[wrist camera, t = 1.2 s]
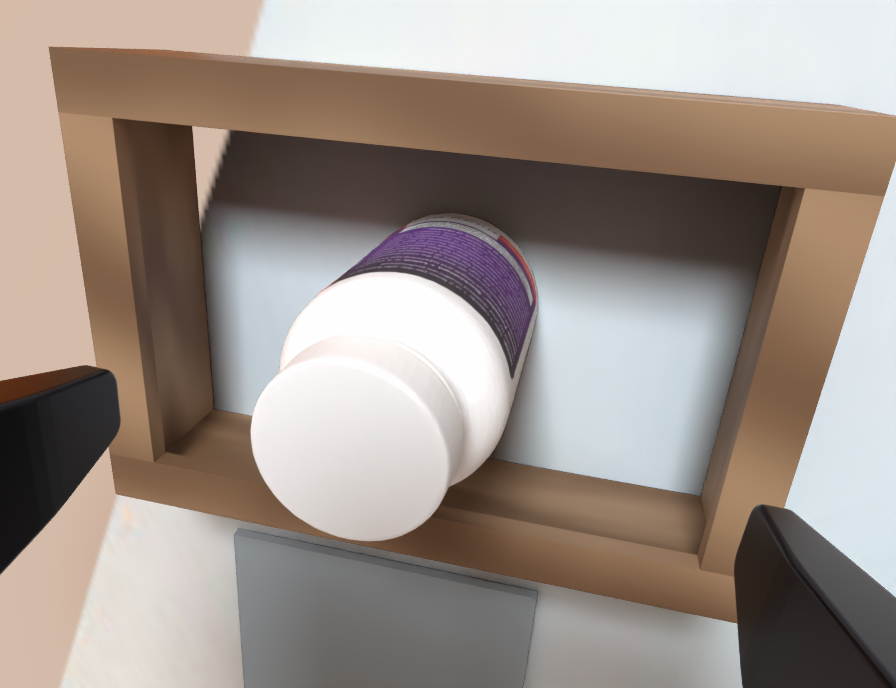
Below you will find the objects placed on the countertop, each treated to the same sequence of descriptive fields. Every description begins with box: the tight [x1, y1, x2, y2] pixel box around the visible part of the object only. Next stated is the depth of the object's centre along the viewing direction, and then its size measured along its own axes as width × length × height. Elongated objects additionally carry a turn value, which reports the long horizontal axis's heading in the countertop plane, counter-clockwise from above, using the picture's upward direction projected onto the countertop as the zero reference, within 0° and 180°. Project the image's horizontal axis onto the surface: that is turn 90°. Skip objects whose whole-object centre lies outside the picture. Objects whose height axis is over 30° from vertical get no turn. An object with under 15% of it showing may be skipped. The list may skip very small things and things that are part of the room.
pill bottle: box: [251, 213, 538, 541], centre depth 17 cm, size 5×5×10 cm
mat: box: [234, 529, 538, 688], centre depth 28 cm, size 12×12×1 cm
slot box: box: [49, 47, 896, 623], centre depth 19 cm, size 13×19×5 cm
